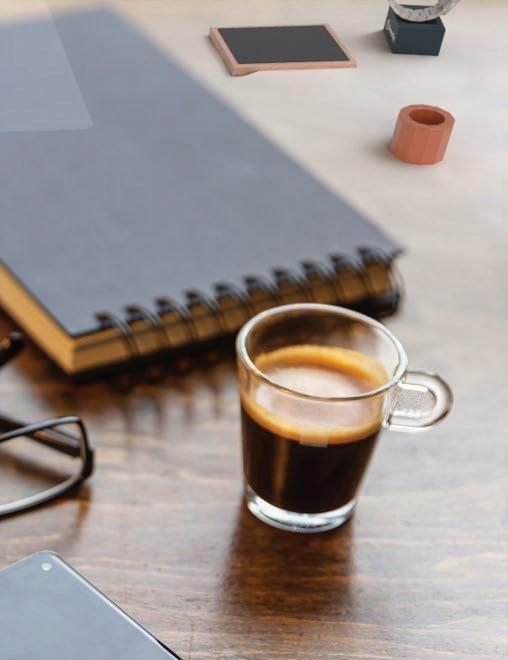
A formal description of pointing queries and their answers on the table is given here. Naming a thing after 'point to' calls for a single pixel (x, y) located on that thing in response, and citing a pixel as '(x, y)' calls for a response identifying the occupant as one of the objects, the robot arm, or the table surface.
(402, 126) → the pen holder
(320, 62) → the tablet
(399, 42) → the watch
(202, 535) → the table surface
